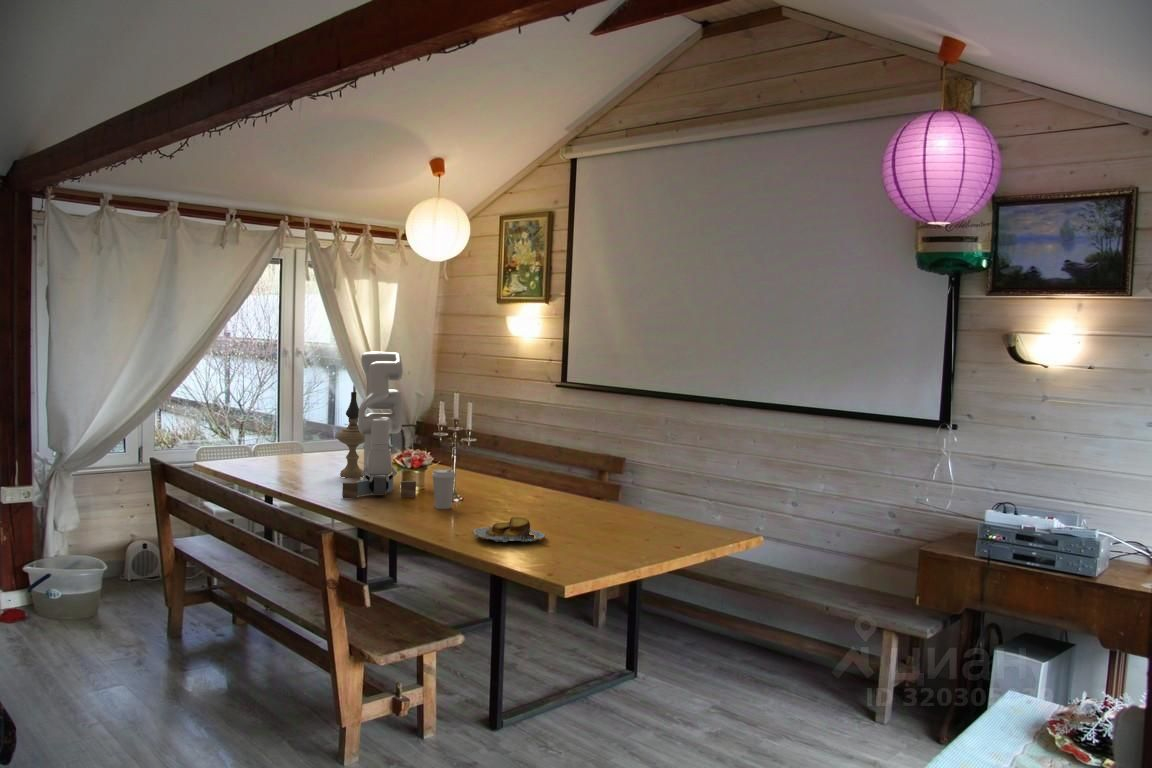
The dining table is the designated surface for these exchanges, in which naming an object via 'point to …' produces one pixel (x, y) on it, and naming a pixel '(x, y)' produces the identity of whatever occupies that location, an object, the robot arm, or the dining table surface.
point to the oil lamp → (351, 440)
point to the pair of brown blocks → (352, 489)
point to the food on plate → (510, 531)
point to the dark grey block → (379, 485)
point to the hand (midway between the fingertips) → (378, 490)
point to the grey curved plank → (364, 487)
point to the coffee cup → (443, 488)
